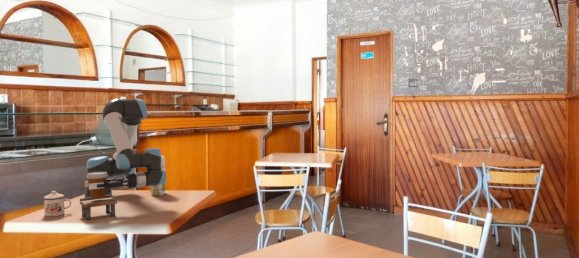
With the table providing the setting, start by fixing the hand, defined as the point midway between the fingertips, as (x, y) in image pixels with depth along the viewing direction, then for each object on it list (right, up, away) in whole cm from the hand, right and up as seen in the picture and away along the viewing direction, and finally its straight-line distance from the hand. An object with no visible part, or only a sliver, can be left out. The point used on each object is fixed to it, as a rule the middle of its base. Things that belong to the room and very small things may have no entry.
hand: (87, 185), depth 206 cm
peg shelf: (+4, -15, +4) cm, 16 cm away
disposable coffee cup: (+4, -7, +3) cm, 8 cm away
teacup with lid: (-18, -16, +8) cm, 25 cm away
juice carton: (+17, -13, +56) cm, 60 cm away
